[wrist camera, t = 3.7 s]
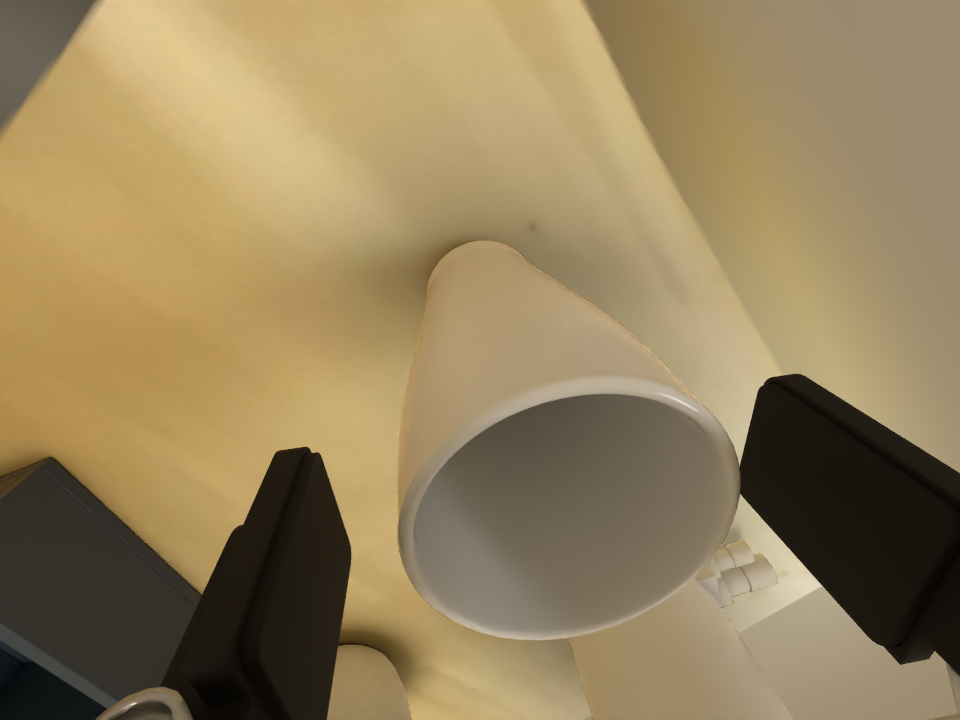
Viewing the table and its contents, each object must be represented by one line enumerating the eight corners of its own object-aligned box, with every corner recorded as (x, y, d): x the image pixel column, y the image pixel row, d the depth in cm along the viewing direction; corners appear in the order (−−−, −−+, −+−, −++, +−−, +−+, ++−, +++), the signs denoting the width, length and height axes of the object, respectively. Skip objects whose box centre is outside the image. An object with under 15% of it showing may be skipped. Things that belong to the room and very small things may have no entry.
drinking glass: (484, 188, 20) (620, 287, 6) (575, 292, 22) (805, 519, 9) (381, 293, 21) (310, 553, 8) (477, 378, 24) (548, 682, 10)
